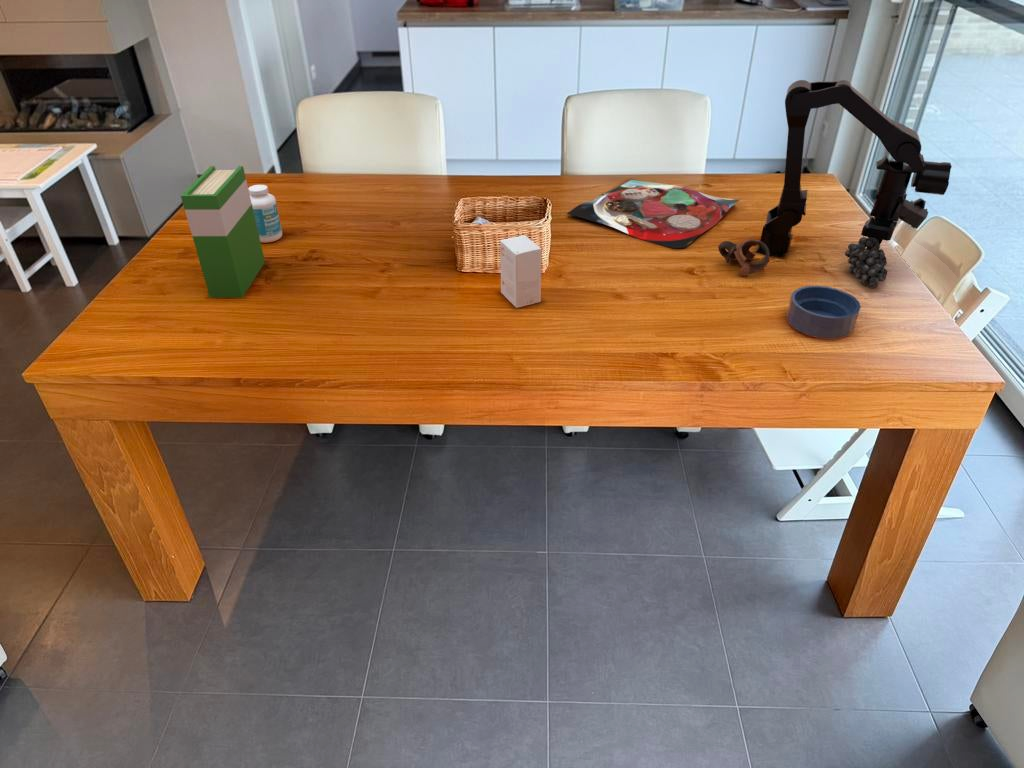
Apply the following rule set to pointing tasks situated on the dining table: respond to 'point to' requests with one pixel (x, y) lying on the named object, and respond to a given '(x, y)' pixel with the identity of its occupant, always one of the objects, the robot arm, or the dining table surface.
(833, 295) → the bowl
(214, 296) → the hardback book
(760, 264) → the brown looped ring sculpture
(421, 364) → the dining table surface
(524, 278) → the small box
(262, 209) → the pill bottle
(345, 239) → the dining table surface
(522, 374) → the dining table surface
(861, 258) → the fruit
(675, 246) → the platter
